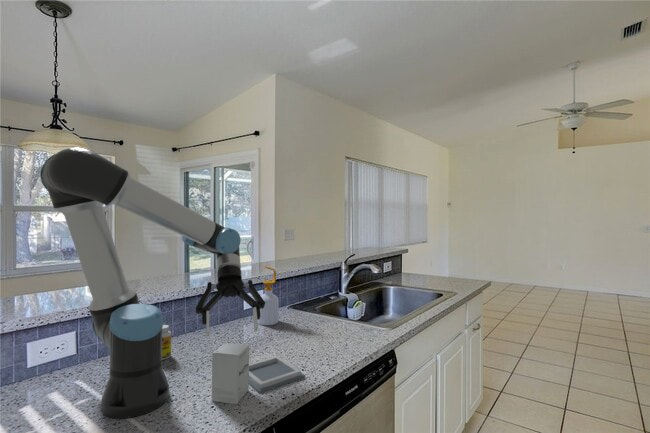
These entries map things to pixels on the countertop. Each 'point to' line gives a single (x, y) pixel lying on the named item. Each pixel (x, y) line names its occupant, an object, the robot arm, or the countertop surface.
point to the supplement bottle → (166, 342)
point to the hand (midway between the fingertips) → (232, 331)
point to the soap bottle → (269, 304)
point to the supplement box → (230, 373)
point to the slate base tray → (272, 374)
